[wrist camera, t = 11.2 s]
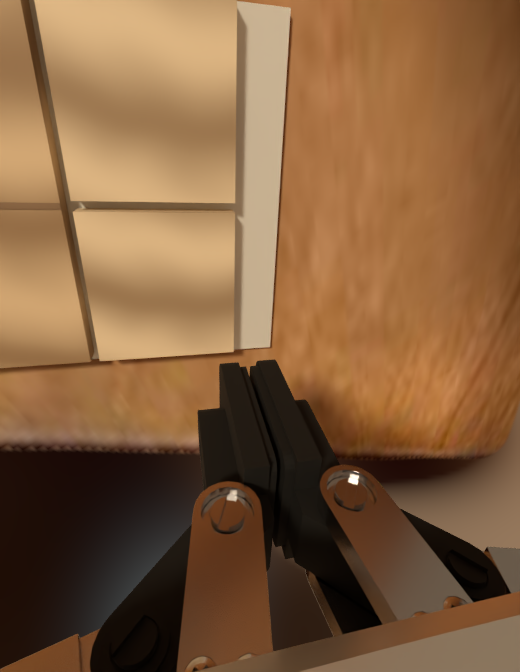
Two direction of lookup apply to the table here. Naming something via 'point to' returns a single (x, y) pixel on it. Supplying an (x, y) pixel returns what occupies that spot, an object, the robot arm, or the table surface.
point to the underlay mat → (250, 174)
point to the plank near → (144, 97)
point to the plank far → (159, 280)
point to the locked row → (34, 215)
